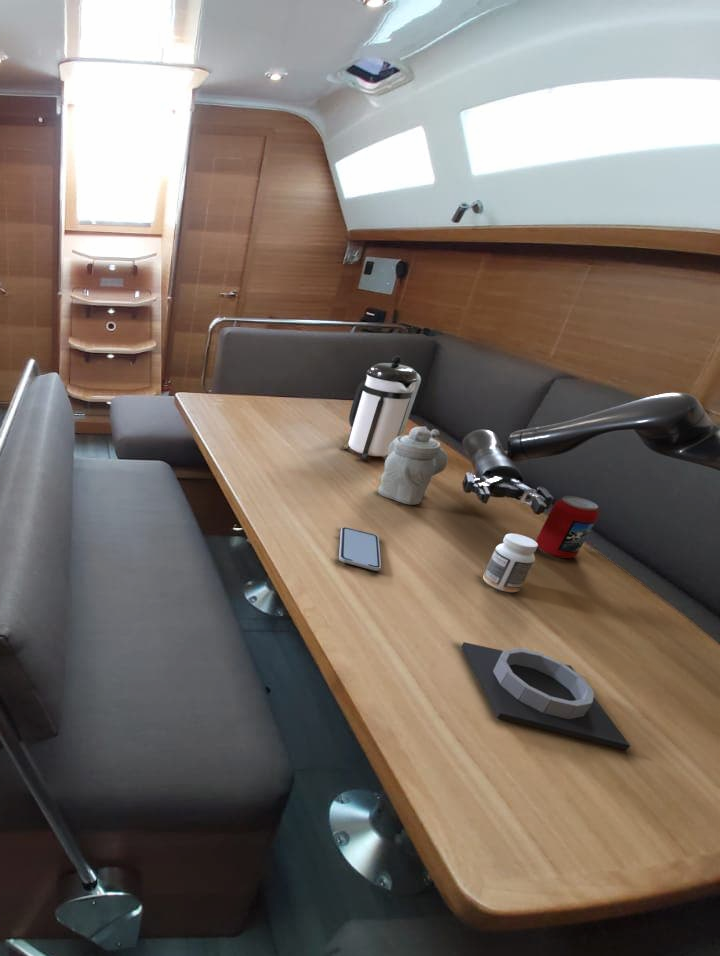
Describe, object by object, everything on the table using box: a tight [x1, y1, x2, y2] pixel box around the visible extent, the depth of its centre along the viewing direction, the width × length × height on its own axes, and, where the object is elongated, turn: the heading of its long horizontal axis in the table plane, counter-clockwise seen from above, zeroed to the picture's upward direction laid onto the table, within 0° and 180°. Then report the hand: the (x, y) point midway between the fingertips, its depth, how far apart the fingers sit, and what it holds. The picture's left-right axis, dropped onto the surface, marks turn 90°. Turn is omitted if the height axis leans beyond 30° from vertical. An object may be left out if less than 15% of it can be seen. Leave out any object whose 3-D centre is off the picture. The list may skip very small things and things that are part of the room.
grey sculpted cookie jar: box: [378, 426, 448, 506], centre depth 125 cm, size 16×15×19 cm
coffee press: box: [341, 355, 418, 462], centre depth 147 cm, size 17×16×30 cm
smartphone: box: [338, 526, 382, 572], centre depth 103 cm, size 7×1×15 cm
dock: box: [461, 641, 631, 751], centre depth 70 cm, size 14×14×4 cm
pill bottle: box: [482, 533, 538, 593], centre depth 92 cm, size 6×6×10 cm
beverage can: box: [534, 495, 600, 559], centre depth 103 cm, size 7×7×12 cm
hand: (512, 504), depth 98 cm, fingers open, 8 cm apart
